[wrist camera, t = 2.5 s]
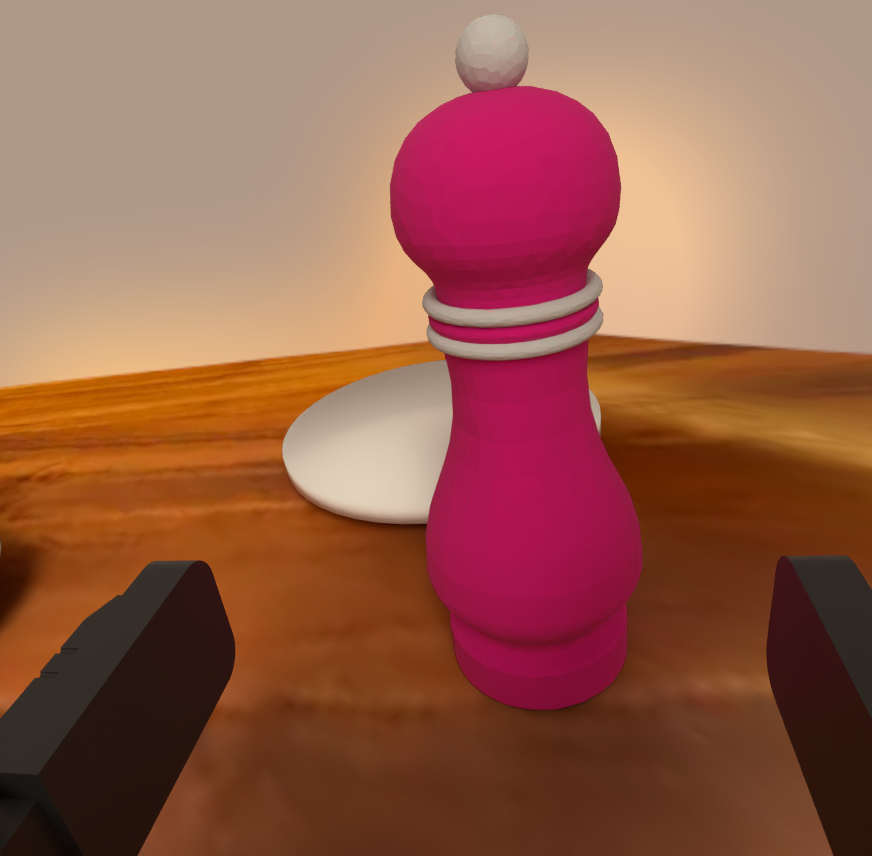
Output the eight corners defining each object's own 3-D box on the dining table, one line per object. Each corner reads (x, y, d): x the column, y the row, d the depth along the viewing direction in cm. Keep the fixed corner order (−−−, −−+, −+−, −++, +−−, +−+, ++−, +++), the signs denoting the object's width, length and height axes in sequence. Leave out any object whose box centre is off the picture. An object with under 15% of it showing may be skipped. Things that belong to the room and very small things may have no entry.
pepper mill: (568, 557, 29) (540, 20, 20) (686, 670, 23) (722, -28, 14) (413, 619, 27) (305, 48, 18) (498, 761, 21) (399, 6, 12)
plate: (603, 378, 45) (602, 353, 44) (598, 544, 30) (597, 510, 29) (350, 385, 50) (345, 362, 49) (232, 532, 34) (222, 502, 33)
